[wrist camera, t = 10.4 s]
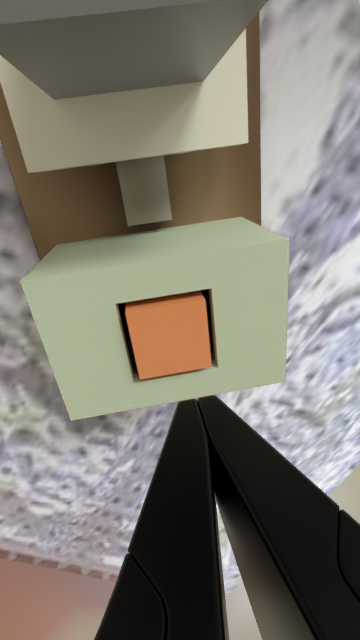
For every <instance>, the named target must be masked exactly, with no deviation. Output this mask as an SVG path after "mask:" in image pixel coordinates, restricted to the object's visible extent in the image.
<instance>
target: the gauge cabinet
mask: <svg viewBox="0 0 360 640" xmlns="http://www.w3.org/2000/svg"><path fill="white" fill-rule="evenodd" d="M289 244H290V239H288V238H286V237H284V236H281V235H279V234H277V233H275V232H273V231H271V230H269V229H266V228H264V227H262V226H260V225H258V224H256V223H254V222H251V221H249V220H247V219H245V218H243V217H236V218H230V219H223V220H216V221H210V222H203V223H196V224H190V225H183V226H176V227H170V228H163V229H156V230H149V231H143V232H136V233H129V234H123V235H116V236H109V237H103V238H96V239H89V240H82V241H76V242H69V243H62V244H57V245H56V246H55V247H54V248H53V249H52V250H51V251H50V252H49V253H48V254H47V255H46V256H45V257H44V258H43V259H42V260H41V261H40V262H39V263H38V264H37V265H36V266H35V267H34V268H33V269H32V270H31V271H30V272H29V273H28V274H27V275H26V276H25V277H24V278H23V279H22V280H21V281H20V283H21V286H22V288H23V291H24V294H25V297H26V299H27V302H28V305H29V308H30V310H31V313H32V316H33V319H34V321H35V324H36V327H37V329H38V332H39V335H40V338H41V340H42V343H43V346H44V349H45V351H46V354H47V357H48V360H49V362H50V365H51V368H52V370H53V373H54V376H55V379H56V381H57V384H58V387H59V390H60V392H61V395H62V398H63V401H64V403H65V406H66V409H67V411H68V414H69V417H70V420H71V421H72V420H78V419H83V418H89V417H94V416H100V415H105V414H110V413H116V412H121V411H127V410H132V409H138V408H143V407H149V406H154V405H160V404H165V403H171V402H176V401H182V400H187V399H193V398H198V397H204V396H209V395H215V394H220V393H226V392H231V391H237V390H242V389H248V388H253V387H259V386H264V385H270V384H275V383H281V382H285V375H286V342H287V309H288V277H289ZM204 289H209V298H210V309H211V321H208V331H209V342H210V353H211V363H212V367H209V368H203V369H197V370H192V371H186V372H180V373H175V374H169V375H163V376H158V377H152V378H146V379H141V380H140V378H139V373H138V369H137V364H136V360H135V355H134V351H133V346H132V342H131V337H130V334H128V335H125V334H124V330H123V325H122V321H121V317H120V312H119V308H118V303H124V302H130V301H136V300H142V299H149V298H155V297H161V296H167V295H173V294H179V293H186V292H192V291H198V290H204Z"/></svg>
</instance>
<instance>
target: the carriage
mask: <svg viewBox="0 0 360 640" xmlns="http://www.w3.org/2000/svg"><path fill="white" fill-rule="evenodd" d="M267 1H268V0H0V83H1V86H2V89H3V93H4V96H5V99H6V102H7V106H8V109H9V112H10V116H11V119H12V122H13V125H14V129H15V132H16V135H17V138H18V142H19V145H20V148H21V152H22V155H23V158H24V161H25V165H26V168H27V171H28V173H33V172H45V171H52V170H60V169H67V168H74V167H82V166H93V165H100V164H105V163H111V162H119V161H126V160H133V159H141V158H148V157H155V156H163V155H170V154H181V153H188V152H192V151H200V150H207V149H214V148H222V147H229V146H236V145H241V144H246V143H248V103H247V60H246V27H247V26H248V25H249V23H250V22H251V21H252V20H253V18H254V17H255V16H256V15H257V13H258V12H259V11H260V9H261V8H262V7H263V6H264V4H265V3H266V2H267Z"/></svg>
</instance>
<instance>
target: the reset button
mask: <svg viewBox="0 0 360 640" xmlns="http://www.w3.org/2000/svg"><path fill="white" fill-rule="evenodd" d="M125 315H126V319H127V324H128V328H129V333H130V337H131V342H132V346H133V351H134V355H135V360H136V364H137V369H138V373H139V378H140V380H141V379H146V378H152V377H158V376H163V375H169V374H175V373H180V372H186V371H192V370H197V369H203V368H209V367H212V363H211V353H210V342H209V331H208V321H207V310H206V300H205V298H204V297H203V295H202V293H201V291H200V290H198V291H192V292H186V293H179V294H173V295H167V296H161V297H155V298H149V299H142V300H136V301H130V302H126V311H125Z"/></svg>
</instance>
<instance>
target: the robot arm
mask: <svg viewBox="0 0 360 640" xmlns="http://www.w3.org/2000/svg"><path fill="white" fill-rule="evenodd" d="M215 498H216V501H215ZM216 502H217V505H218V508H219V511H220V514H221V517H222V520H223V523H224V526H225V529H226V532H227V535H228V538H229V541H230V544H231V547H232V550H233V553H234V556H235V559H236V562H237V565H238V568H239V571H240V574H241V577H242V580H243V583H244V586H245V589H246V591H247V595H248V598H249V601H250V604H251V606H252V610H253V613H254V616H255V619H256V622H257V624H258V628H259V631H260V633H261V636H262V639H263V640H360V524H359V523H358V522H356V521H355V520H354V519H353V518H352V517H351V516H350V515H349V514H348V513H347V512H346V511H344V510H340V511H339V506H338V505H337V504H336V503H335V502H334V501H333V500H332V499H331V498H330V497H328V496H327V495H326V494H325V493H324V492H323V491H322V490H321V489H320V488H318V487H317V486H316V485H315V484H314V483H313V482H312V481H311V480H309V479H308V478H307V477H306V476H305V475H304V474H303V473H302V472H301V471H299V470H298V469H297V468H296V467H295V466H294V465H293V464H292V463H290V462H289V461H288V460H287V459H286V458H285V457H284V456H283V455H282V454H280V453H279V452H278V451H277V450H276V449H275V448H274V447H273V446H271V445H270V444H269V443H268V442H267V441H266V440H265V439H264V438H263V437H261V436H260V435H259V434H258V433H257V432H256V431H255V430H254V429H252V428H251V427H250V426H249V425H248V424H247V423H246V422H245V421H244V420H242V419H241V418H240V417H239V416H238V415H237V414H236V413H235V412H233V411H232V410H231V409H230V408H229V407H228V406H227V405H226V404H225V403H223V402H222V401H221V400H220V399H219V398H218V397H217V396H215V395H210V396H205V397H200V398H198V400H196V399H188V400H183V401H180V402H179V403H178V404H177V407H176V410H175V413H174V416H173V419H172V422H171V425H170V428H169V431H168V433H167V436H166V439H165V442H164V445H163V448H162V451H161V454H160V457H159V460H158V463H157V466H156V468H155V471H154V474H153V477H152V480H151V483H150V486H149V489H148V492H147V495H146V498H145V501H144V503H143V506H142V509H141V512H140V515H139V518H138V521H137V524H136V527H135V530H134V533H133V536H132V538H131V541H130V544H129V547H128V553H129V554H126V556H125V558H124V561H123V564H122V567H121V570H120V573H119V576H118V579H117V581H116V584H115V587H114V590H113V592H112V595H111V598H110V600H109V603H108V606H107V608H106V611H105V614H104V616H103V619H102V622H101V624H100V627H99V629H98V632H97V634H96V636H95V639H94V640H229V634H228V623H227V612H226V602H225V591H224V581H223V571H222V560H221V550H220V540H219V529H218V519H217V509H216Z"/></svg>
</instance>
